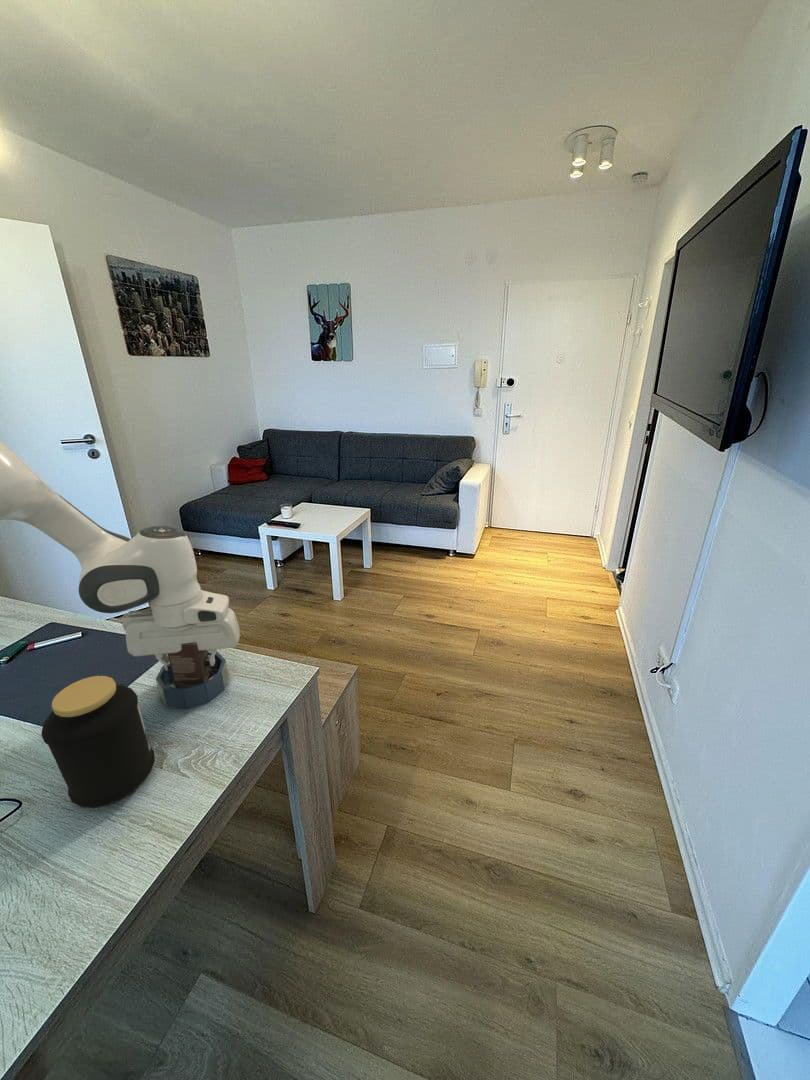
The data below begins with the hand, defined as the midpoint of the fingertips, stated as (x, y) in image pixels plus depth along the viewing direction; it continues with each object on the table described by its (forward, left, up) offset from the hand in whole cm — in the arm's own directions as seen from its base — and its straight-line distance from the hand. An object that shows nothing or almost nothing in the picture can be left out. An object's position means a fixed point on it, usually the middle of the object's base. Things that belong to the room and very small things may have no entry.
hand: (191, 666), depth 88 cm
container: (-7, -21, -5) cm, 23 cm away
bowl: (0, 0, -5) cm, 5 cm away
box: (0, 0, -5) cm, 5 cm away
